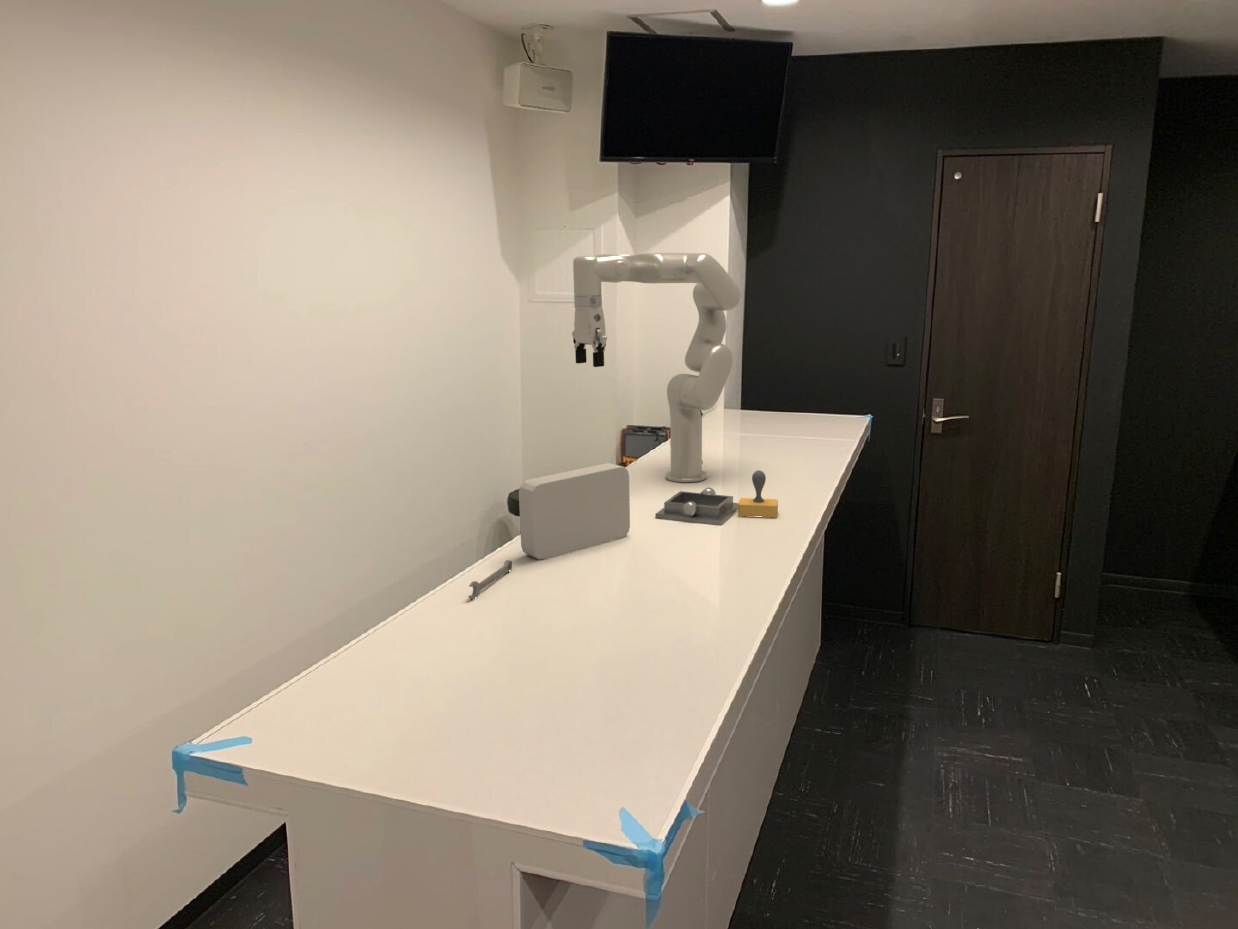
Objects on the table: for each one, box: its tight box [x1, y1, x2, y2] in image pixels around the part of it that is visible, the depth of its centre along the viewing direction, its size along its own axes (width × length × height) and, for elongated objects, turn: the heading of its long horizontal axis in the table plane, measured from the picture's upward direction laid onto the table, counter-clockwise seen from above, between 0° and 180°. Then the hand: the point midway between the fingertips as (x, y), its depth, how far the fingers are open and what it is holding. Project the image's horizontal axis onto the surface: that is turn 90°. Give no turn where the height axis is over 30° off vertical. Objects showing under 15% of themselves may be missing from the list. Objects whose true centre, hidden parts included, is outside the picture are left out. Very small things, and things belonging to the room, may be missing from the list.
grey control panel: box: [518, 462, 631, 560], centre depth 223 cm, size 29×8×18 cm, turn 129°
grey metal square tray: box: [655, 487, 739, 526], centre depth 248 cm, size 17×18×5 cm
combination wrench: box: [467, 559, 513, 600], centre depth 200 cm, size 4×1×20 cm
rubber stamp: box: [737, 470, 779, 518], centre depth 245 cm, size 10×6×12 cm, turn 78°
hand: (589, 364), depth 260 cm, fingers open, 9 cm apart
